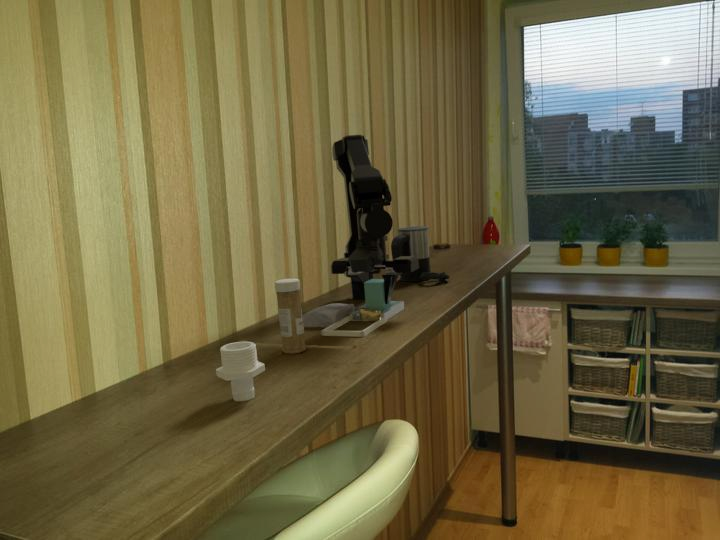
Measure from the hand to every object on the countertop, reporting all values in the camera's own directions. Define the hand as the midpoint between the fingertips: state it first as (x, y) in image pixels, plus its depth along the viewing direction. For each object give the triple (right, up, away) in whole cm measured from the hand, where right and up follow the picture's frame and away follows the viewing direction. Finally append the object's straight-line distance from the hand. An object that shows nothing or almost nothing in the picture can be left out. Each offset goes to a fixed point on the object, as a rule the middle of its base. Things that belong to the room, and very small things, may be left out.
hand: (377, 303), depth 144 cm
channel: (0, -3, 0) cm, 3 cm away
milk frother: (+14, +4, +40) cm, 42 cm away
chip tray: (-5, -5, -11) cm, 13 cm away
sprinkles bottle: (-16, -8, -22) cm, 29 cm away
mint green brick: (0, -2, +1) cm, 2 cm away
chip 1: (-2, -3, -2) cm, 4 cm away
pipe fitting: (-21, -12, -46) cm, 52 cm away
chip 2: (-1, -3, -5) cm, 5 cm away
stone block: (-11, -5, -2) cm, 12 cm away
